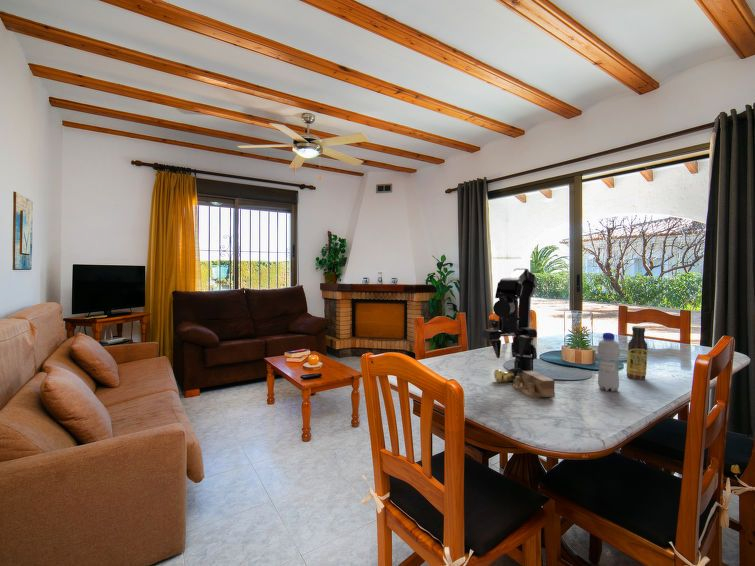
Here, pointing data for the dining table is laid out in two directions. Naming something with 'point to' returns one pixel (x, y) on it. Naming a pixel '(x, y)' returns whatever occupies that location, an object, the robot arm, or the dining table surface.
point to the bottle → (608, 363)
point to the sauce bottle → (637, 355)
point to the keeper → (516, 372)
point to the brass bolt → (503, 376)
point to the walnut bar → (538, 383)
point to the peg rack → (526, 390)
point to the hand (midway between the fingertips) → (509, 357)
